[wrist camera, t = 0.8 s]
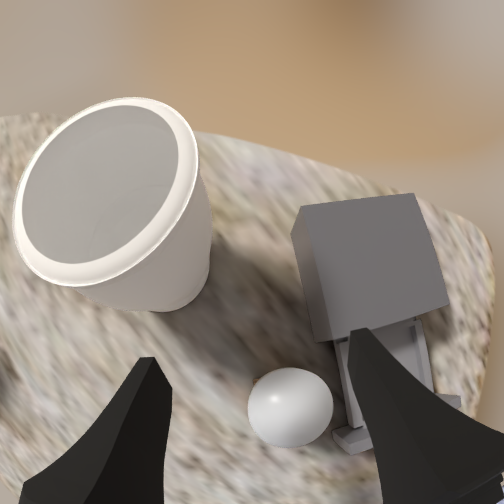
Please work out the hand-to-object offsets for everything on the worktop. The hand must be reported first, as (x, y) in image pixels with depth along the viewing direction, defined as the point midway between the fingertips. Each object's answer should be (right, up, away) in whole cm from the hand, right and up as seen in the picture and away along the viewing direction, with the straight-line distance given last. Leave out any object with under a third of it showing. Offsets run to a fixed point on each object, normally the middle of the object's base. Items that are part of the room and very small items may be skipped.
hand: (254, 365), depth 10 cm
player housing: (+10, +2, +16) cm, 19 cm away
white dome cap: (+2, -7, +9) cm, 11 cm away
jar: (-8, +3, +16) cm, 18 cm away
